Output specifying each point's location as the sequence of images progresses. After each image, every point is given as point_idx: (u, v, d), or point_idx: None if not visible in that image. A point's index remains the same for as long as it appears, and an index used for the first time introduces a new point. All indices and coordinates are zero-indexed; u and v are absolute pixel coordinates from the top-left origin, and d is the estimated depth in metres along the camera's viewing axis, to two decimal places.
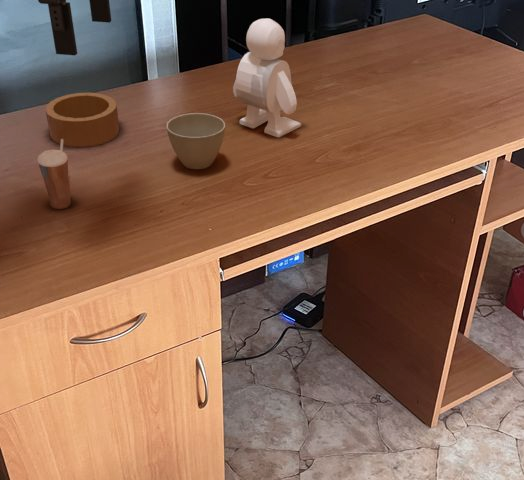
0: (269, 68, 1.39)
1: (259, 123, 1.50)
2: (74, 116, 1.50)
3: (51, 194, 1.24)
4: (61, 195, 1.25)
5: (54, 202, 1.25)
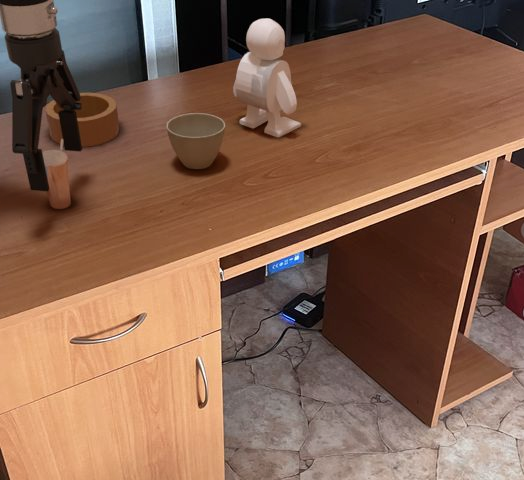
0: (269, 68, 1.39)
1: (259, 123, 1.50)
2: None
3: (51, 194, 1.24)
4: (61, 195, 1.25)
5: (54, 202, 1.25)
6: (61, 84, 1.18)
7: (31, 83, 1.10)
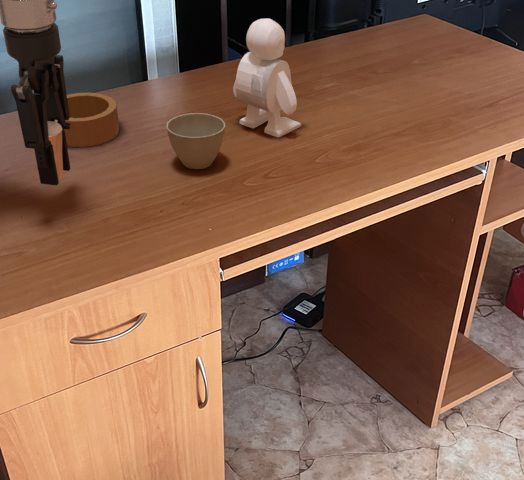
0: (269, 68, 1.39)
1: (259, 123, 1.50)
2: (74, 116, 1.50)
3: None
4: None
5: None
6: (56, 86, 1.16)
7: (30, 81, 1.10)
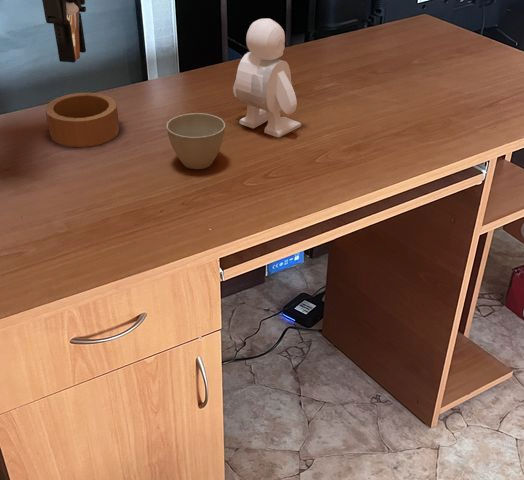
0: (269, 68, 1.39)
1: (259, 123, 1.50)
2: (74, 116, 1.50)
3: None
4: None
5: None
6: None
7: None
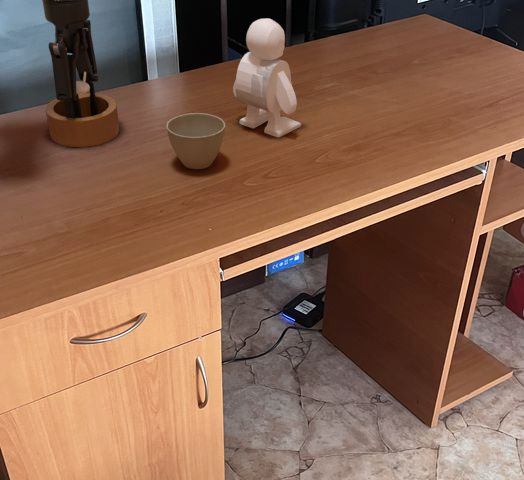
0: (269, 68, 1.39)
1: (259, 123, 1.50)
2: None
3: None
4: None
5: None
6: (85, 46, 1.39)
7: (64, 41, 1.33)
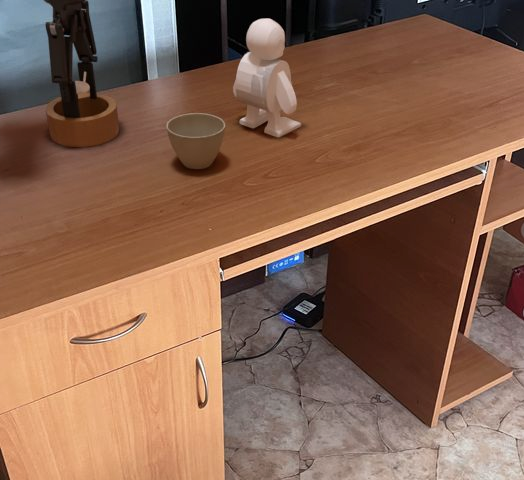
0: (269, 68, 1.39)
1: (259, 123, 1.50)
2: None
3: None
4: None
5: None
6: (84, 28, 1.37)
7: (62, 22, 1.31)
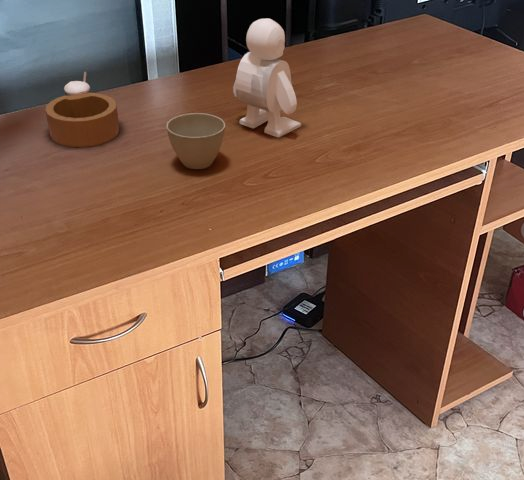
0: (269, 68, 1.39)
1: (259, 123, 1.50)
2: None
3: None
4: None
5: None
6: None
7: None
